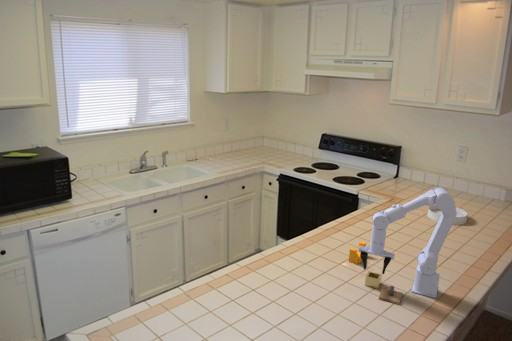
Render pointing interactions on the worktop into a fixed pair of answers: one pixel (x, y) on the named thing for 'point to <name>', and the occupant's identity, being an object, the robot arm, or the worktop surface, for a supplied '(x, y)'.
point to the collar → (373, 279)
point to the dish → (435, 213)
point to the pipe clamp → (356, 254)
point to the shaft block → (390, 295)
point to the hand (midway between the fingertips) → (374, 270)
